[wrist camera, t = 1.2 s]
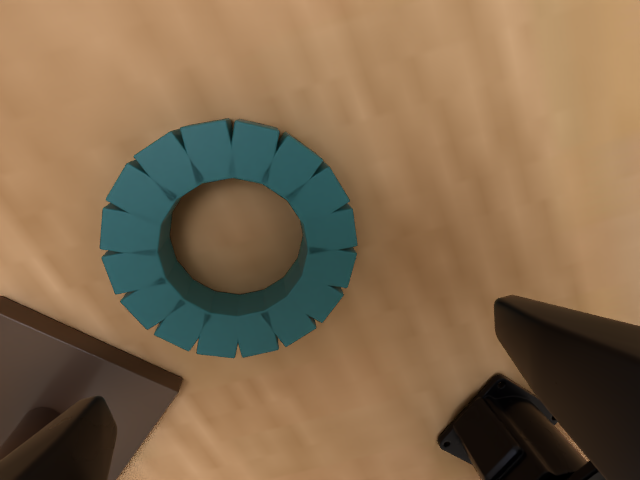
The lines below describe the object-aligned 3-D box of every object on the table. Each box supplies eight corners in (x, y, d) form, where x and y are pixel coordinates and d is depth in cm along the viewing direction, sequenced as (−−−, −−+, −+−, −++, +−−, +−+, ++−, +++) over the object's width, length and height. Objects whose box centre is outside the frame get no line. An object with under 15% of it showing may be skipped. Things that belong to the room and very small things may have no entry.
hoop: (388, 206, 21) (403, 218, 18) (269, 363, 23) (269, 391, 21) (196, 66, 17) (186, 60, 15) (77, 266, 19) (53, 287, 17)
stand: (182, 378, 22) (145, 507, 15) (99, 495, 24) (30, 660, 17) (0, 295, 19) (-155, 406, 12) (-78, 435, 21) (-254, 605, 14)
